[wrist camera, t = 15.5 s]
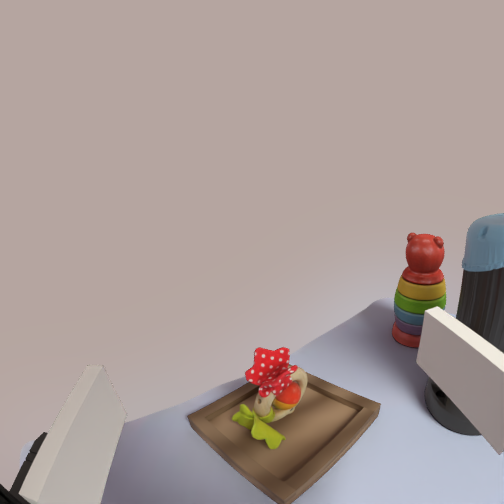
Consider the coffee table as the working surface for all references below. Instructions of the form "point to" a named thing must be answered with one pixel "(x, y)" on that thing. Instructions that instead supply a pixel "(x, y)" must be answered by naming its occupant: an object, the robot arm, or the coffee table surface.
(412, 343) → the stacking bear
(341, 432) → the walnut plate
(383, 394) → the coffee table surface
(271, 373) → the bird rattle
